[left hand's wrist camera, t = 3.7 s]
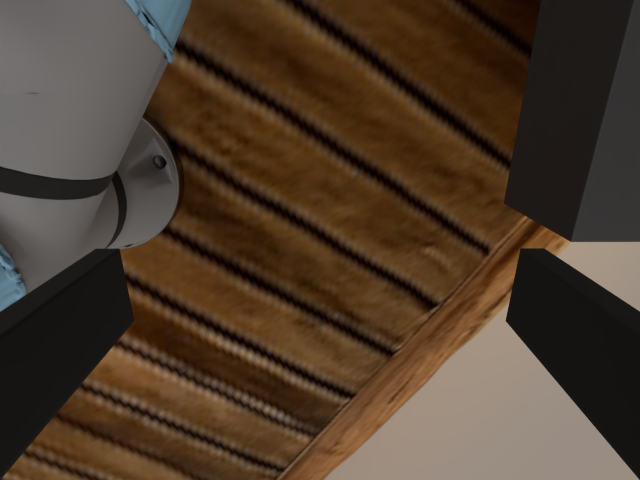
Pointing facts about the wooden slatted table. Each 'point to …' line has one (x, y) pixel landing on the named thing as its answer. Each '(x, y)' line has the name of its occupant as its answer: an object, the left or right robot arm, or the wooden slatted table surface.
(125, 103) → the left robot arm
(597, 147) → the bar
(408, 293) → the wooden slatted table surface
